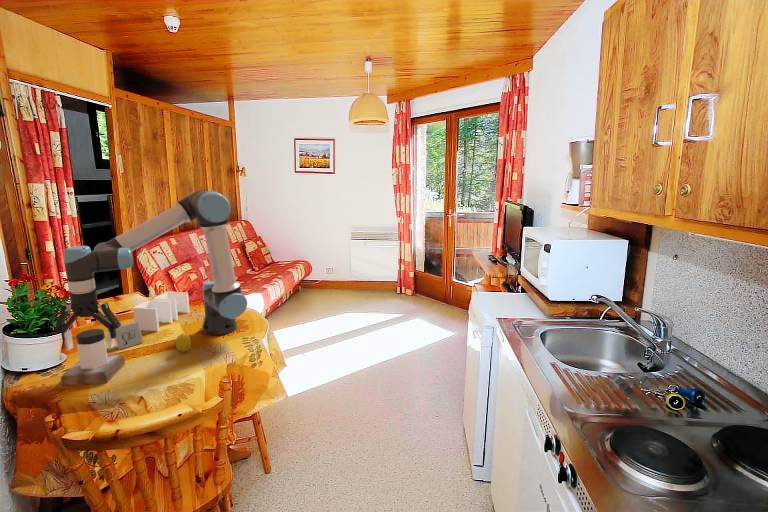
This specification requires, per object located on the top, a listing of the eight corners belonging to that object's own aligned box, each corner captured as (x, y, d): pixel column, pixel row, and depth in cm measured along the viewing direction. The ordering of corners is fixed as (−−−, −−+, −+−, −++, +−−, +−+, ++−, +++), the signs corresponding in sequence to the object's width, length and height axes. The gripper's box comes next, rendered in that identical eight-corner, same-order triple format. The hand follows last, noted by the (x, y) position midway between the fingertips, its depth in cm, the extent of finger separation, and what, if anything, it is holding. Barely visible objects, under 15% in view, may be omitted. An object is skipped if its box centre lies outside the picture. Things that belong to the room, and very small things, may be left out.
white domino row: (169, 311, 212) (167, 291, 210) (189, 312, 211) (187, 292, 209) (135, 330, 188) (133, 307, 186) (157, 331, 187) (155, 309, 184)
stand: (124, 364, 156) (123, 354, 155) (107, 382, 142) (105, 372, 142) (84, 366, 154) (82, 356, 153) (62, 385, 140) (60, 375, 139)
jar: (101, 356, 153) (97, 326, 150) (114, 361, 149) (110, 331, 147) (74, 366, 145) (69, 335, 143) (87, 372, 142) (82, 340, 139)
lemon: (174, 351, 167) (172, 333, 165) (188, 347, 171) (187, 329, 169) (179, 356, 163) (177, 337, 161) (193, 352, 167) (192, 333, 165)
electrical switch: (119, 350, 167) (115, 328, 166) (114, 348, 170) (110, 326, 169) (143, 343, 174) (140, 322, 173) (138, 341, 178) (135, 320, 176)
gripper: (126, 286, 147) (133, 341, 151) (49, 288, 143) (58, 345, 147) (117, 292, 140) (124, 350, 144) (35, 295, 136) (45, 354, 140)
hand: (91, 347), depth 146 cm, fingers open, 13 cm apart
